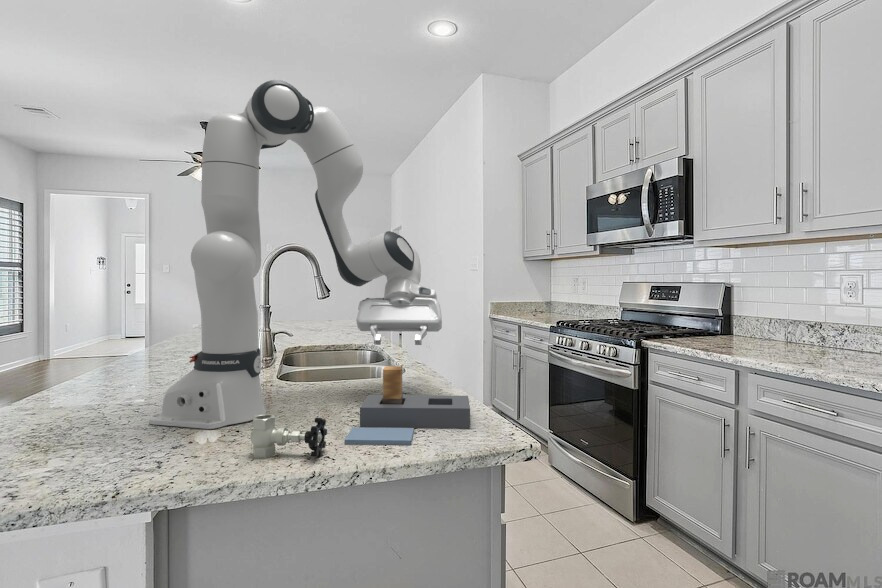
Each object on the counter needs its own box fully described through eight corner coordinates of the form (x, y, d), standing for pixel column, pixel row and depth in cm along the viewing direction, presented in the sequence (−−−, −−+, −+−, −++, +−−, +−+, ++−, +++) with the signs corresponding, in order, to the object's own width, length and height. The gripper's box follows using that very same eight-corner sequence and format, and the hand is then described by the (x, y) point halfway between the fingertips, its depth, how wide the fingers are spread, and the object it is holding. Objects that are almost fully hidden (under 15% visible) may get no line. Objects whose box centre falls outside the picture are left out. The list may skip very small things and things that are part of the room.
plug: (382, 422, 98) (382, 369, 98) (384, 417, 102) (384, 366, 101) (400, 423, 98) (400, 370, 98) (402, 417, 102) (402, 366, 101)
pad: (344, 444, 86) (344, 439, 86) (352, 431, 93) (352, 427, 93) (411, 444, 85) (411, 440, 85) (413, 432, 92) (413, 427, 92)
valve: (242, 462, 78) (315, 464, 77) (242, 422, 77) (314, 424, 76) (260, 447, 84) (327, 449, 83) (260, 410, 84) (327, 412, 83)
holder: (359, 427, 95) (359, 407, 95) (368, 412, 105) (368, 394, 105) (470, 428, 95) (470, 408, 95) (467, 413, 105) (468, 395, 105)
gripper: (358, 289, 116) (350, 334, 107) (442, 290, 116) (441, 335, 107) (361, 306, 121) (354, 351, 112) (442, 307, 121) (441, 351, 111)
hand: (397, 343), depth 109 cm, fingers open, 8 cm apart
